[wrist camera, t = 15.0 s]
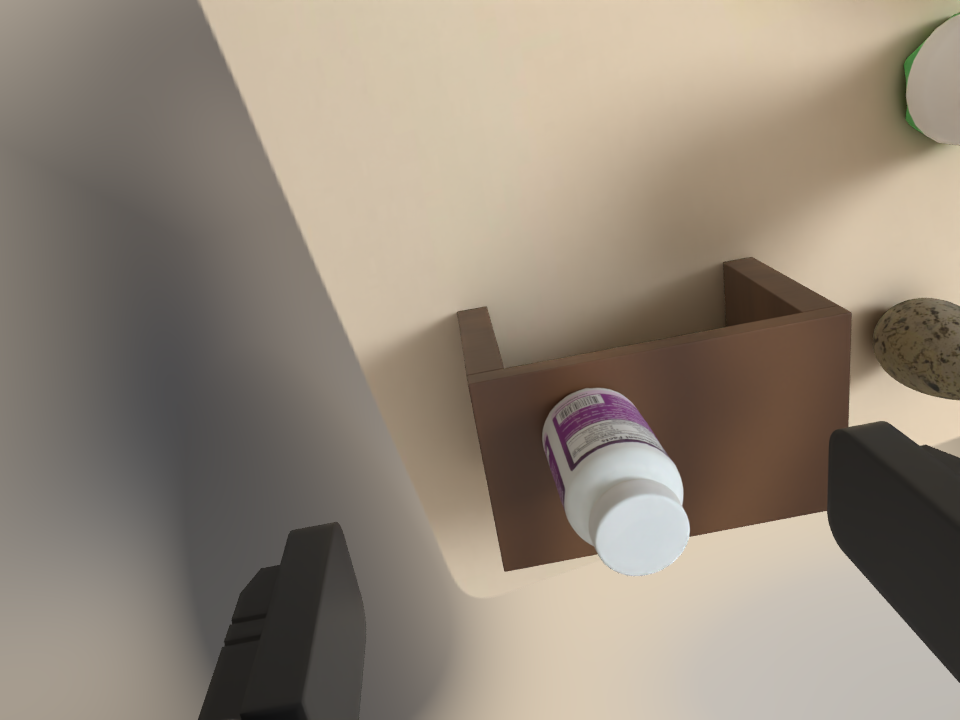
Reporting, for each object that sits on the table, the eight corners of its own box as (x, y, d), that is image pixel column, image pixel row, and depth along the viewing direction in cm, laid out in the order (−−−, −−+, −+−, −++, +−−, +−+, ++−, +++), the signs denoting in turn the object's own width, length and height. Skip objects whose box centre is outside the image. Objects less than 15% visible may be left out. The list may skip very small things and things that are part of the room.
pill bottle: (623, 480, 40) (682, 599, 31) (530, 465, 39) (563, 583, 30) (653, 392, 38) (725, 492, 29) (555, 374, 37) (599, 471, 28)
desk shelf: (486, 466, 52) (504, 572, 41) (456, 311, 48) (468, 384, 37) (756, 415, 52) (846, 507, 41) (752, 256, 48) (852, 312, 37)
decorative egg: (868, 281, 49) (972, 329, 40) (947, 290, 50) (1068, 339, 41) (841, 361, 51) (934, 424, 42) (918, 369, 52) (1025, 433, 43)
